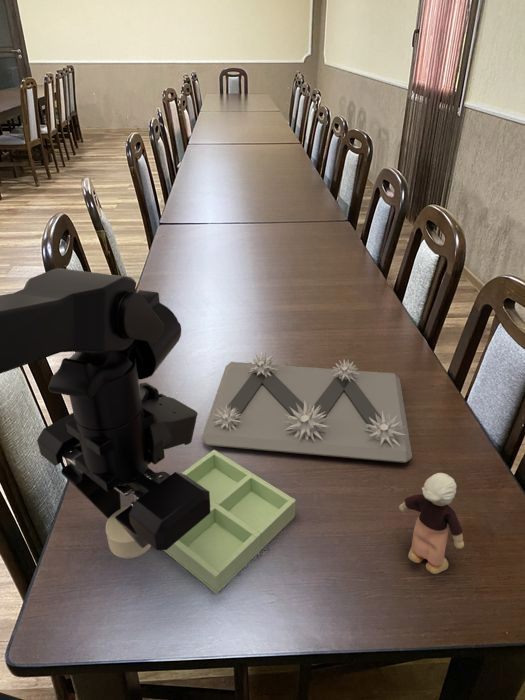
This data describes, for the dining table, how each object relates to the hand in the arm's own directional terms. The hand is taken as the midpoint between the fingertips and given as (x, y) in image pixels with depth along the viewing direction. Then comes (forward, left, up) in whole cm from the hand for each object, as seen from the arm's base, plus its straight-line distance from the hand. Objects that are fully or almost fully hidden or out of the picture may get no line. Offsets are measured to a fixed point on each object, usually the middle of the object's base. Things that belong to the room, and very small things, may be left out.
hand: (130, 531), depth 54 cm
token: (0, 0, -1) cm, 1 cm away
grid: (+12, 0, -9) cm, 15 cm away
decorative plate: (+37, +4, -9) cm, 38 cm away
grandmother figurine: (+24, -22, -9) cm, 34 cm away
